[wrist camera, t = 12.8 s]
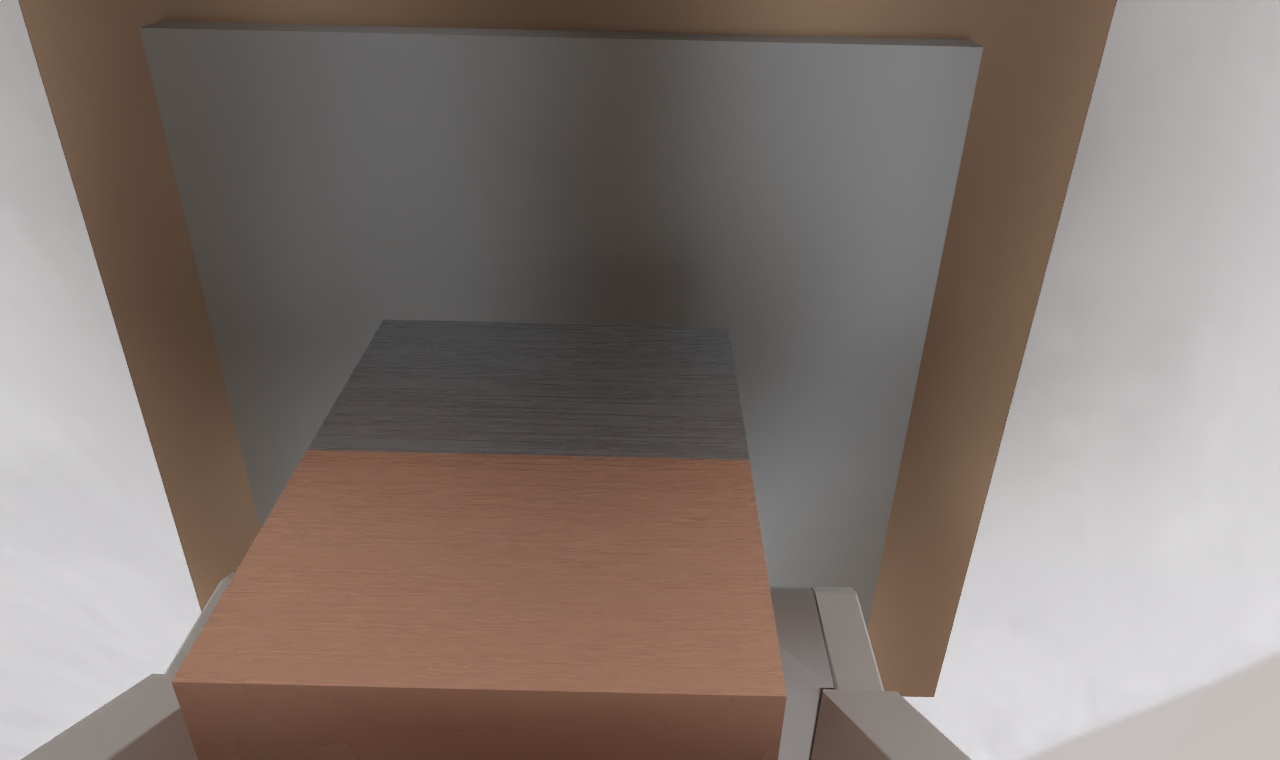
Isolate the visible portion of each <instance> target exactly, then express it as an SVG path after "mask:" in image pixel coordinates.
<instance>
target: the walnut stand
mask: <svg viewBox="0 0 1280 760" xmlns="http://www.w3.org/2000/svg"><path fill="white" fill-rule="evenodd" d="M18 1H19V5H20V8H21V11H22V15H23V18H24V21H25V25H26V28H27V31H28V35H29V38H30V41H31V45H32V48H33V51H34V55H35V58H36V61H37V65H38V68H39V71H40V75H41V78H42V81H43V85H44V88H45V91H46V95H47V98H48V101H49V105H50V108H51V111H52V115H53V118H54V121H55V125H56V128H57V131H58V135H59V138H60V141H61V145H62V148H63V151H64V155H65V158H66V161H67V165H68V168H69V171H70V175H71V178H72V181H73V185H74V188H75V191H76V195H77V198H78V201H79V205H80V208H81V211H82V215H83V218H84V221H85V225H86V228H87V231H88V235H89V238H90V241H91V245H92V248H93V251H94V255H95V258H96V261H97V265H98V268H99V271H100V275H101V278H102V281H103V285H104V288H105V291H106V295H107V298H108V301H109V305H110V308H111V311H112V315H113V318H114V321H115V325H116V328H117V331H118V335H119V338H120V341H121V345H122V348H123V351H124V355H125V358H126V361H127V365H128V368H129V371H130V375H131V378H132V381H133V385H134V388H135V391H136V395H137V398H138V402H139V405H140V408H141V412H142V415H143V418H144V422H145V425H146V428H147V432H148V435H149V438H150V442H151V445H152V448H153V452H154V455H155V458H156V462H157V465H158V468H159V472H160V475H161V478H162V482H163V485H164V488H165V492H166V495H167V498H168V502H169V505H170V508H171V512H172V515H173V518H174V522H175V525H176V528H177V532H178V535H179V538H180V542H181V545H182V548H183V552H184V555H185V558H186V562H187V565H188V568H189V572H190V575H191V578H192V582H193V585H194V588H195V592H196V595H197V598H198V602H199V605H200V608H201V612H202V611H203V609H204V608H205V606H206V604H207V603H208V601H209V600H210V598H211V596H212V595H213V593H214V591H215V590H216V588H217V586H218V585H219V583H220V581H221V580H222V579H224V578H225V577H226V576H228V575H229V574H231V573H235V572H236V571H237V569H238V567H239V566H240V564H241V562H242V560H243V559H244V557H245V555H246V554H247V552H248V550H249V548H250V547H251V545H252V543H253V542H254V540H255V538H256V536H257V535H258V533H259V531H260V530H261V528H262V526H263V524H264V523H265V521H266V519H267V518H268V516H269V514H270V513H271V511H272V509H273V507H274V506H275V504H276V502H277V501H278V499H279V497H280V495H281V494H282V492H283V490H284V489H285V487H286V485H287V483H288V482H289V480H290V478H291V477H292V475H293V473H294V471H295V470H296V468H297V466H298V465H299V463H300V461H301V459H302V458H303V456H304V454H305V453H306V451H307V449H308V447H309V446H310V444H311V442H312V441H313V439H314V437H315V436H316V434H317V432H318V430H319V429H320V427H321V425H322V424H323V422H324V420H325V418H326V417H327V415H328V413H329V412H330V410H331V408H332V406H333V405H334V403H335V401H336V400H337V398H338V396H339V394H340V393H341V391H342V389H343V388H344V386H345V384H346V382H347V381H348V379H349V377H350V376H351V374H352V372H353V370H354V369H355V367H356V365H357V364H358V362H359V360H360V359H361V357H362V355H363V353H364V352H365V350H366V348H367V347H368V345H369V343H370V341H371V340H372V338H373V336H374V335H375V333H376V331H377V329H378V328H379V326H380V324H381V323H382V321H383V320H423V321H467V322H512V323H557V324H602V325H647V326H691V327H729V332H730V338H731V345H732V351H733V358H734V364H735V370H736V377H737V383H738V389H739V396H740V402H741V408H742V415H743V421H744V427H745V434H746V440H747V447H748V453H749V459H750V466H751V472H752V478H753V485H754V491H755V497H756V504H757V510H758V517H759V523H760V529H761V536H762V542H763V548H764V555H765V561H766V567H767V574H768V580H769V586H770V587H809V588H811V587H852V588H853V589H854V591H855V592H856V593H857V596H858V600H859V603H860V607H861V610H862V614H863V618H864V621H865V625H866V628H867V632H868V635H869V639H870V642H871V646H872V650H873V653H874V657H875V660H876V664H877V667H878V671H879V674H880V678H881V681H882V685H883V689H884V691H896V692H898V693H899V694H900V695H901V696H910V697H934V694H935V691H936V687H937V683H938V679H939V675H940V672H941V668H942V664H943V660H944V656H945V653H946V649H947V645H948V641H949V637H950V634H951V630H952V626H953V622H954V618H955V614H956V611H957V607H958V603H959V599H960V595H961V592H962V588H963V584H964V580H965V576H966V573H967V569H968V565H969V561H970V557H971V554H972V550H973V546H974V542H975V538H976V535H977V531H978V527H979V523H980V519H981V516H982V512H983V508H984V504H985V500H986V497H987V493H988V489H989V485H990V481H991V477H992V474H993V470H994V466H995V462H996V458H997V455H998V451H999V447H1000V443H1001V439H1002V436H1003V432H1004V428H1005V424H1006V420H1007V417H1008V413H1009V409H1010V405H1011V401H1012V398H1013V394H1014V390H1015V386H1016V382H1017V379H1018V375H1019V371H1020V367H1021V363H1022V359H1023V356H1024V352H1025V348H1026V344H1027V340H1028V337H1029V333H1030V329H1031V325H1032V321H1033V318H1034V314H1035V310H1036V306H1037V302H1038V299H1039V295H1040V291H1041V287H1042V283H1043V280H1044V276H1045V272H1046V268H1047V264H1048V261H1049V257H1050V253H1051V249H1052V245H1053V242H1054V238H1055V234H1056V230H1057V226H1058V222H1059V219H1060V215H1061V211H1062V207H1063V203H1064V200H1065V196H1066V192H1067V188H1068V184H1069V181H1070V177H1071V173H1072V169H1073V165H1074V162H1075V158H1076V154H1077V150H1078V146H1079V143H1080V139H1081V135H1082V131H1083V127H1084V124H1085V120H1086V116H1087V112H1088V108H1089V104H1090V101H1091V97H1092V93H1093V89H1094V85H1095V82H1096V78H1097V74H1098V70H1099V66H1100V63H1101V59H1102V55H1103V51H1104V47H1105V44H1106V40H1107V36H1108V32H1109V28H1110V25H1111V21H1112V17H1113V13H1114V9H1115V6H1116V2H1117V0H18Z"/></svg>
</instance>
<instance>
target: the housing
mask: <svg viewBox="0 0 1280 760" xmlns="http://www.w3.org/2000/svg"><path fill="white" fill-rule="evenodd" d="M172 685H173V688H174V691H175V694H176V697H177V700H178V703H179V706H180V709H181V712H182V715H183V718H184V721H185V723H186V726H187V729H188V732H189V735H190V738H191V741H192V744H193V747H194V750H195V753H196V756H197V759H198V760H778V755H779V748H780V741H781V734H782V727H783V720H784V713H785V706H786V699H787V695H786V688H785V682H784V675H783V669H782V663H781V656H780V650H779V644H778V637H777V631H776V625H775V618H774V612H773V606H772V599H771V593H770V586H769V580H768V574H767V567H766V561H765V555H764V548H763V542H762V536H761V529H760V523H759V517H758V510H757V504H756V497H755V491H754V485H753V478H752V472H751V466H750V459H749V453H748V447H747V440H746V434H745V427H744V421H743V415H742V408H741V402H740V396H739V389H738V383H737V377H736V370H735V364H734V358H733V351H732V345H731V338H730V332H729V327H691V326H647V325H602V324H557V323H512V322H467V321H423V320H383V321H382V323H381V324H380V326H379V328H378V329H377V331H376V333H375V335H374V336H373V338H372V340H371V341H370V343H369V345H368V347H367V348H366V350H365V352H364V353H363V355H362V357H361V359H360V360H359V362H358V364H357V365H356V367H355V369H354V370H353V372H352V374H351V376H350V377H349V379H348V381H347V382H346V384H345V386H344V388H343V389H342V391H341V393H340V394H339V396H338V398H337V400H336V401H335V403H334V405H333V406H332V408H331V410H330V412H329V413H328V415H327V417H326V418H325V420H324V422H323V424H322V425H321V427H320V429H319V430H318V432H317V434H316V436H315V437H314V439H313V441H312V442H311V444H310V446H309V447H308V449H307V451H306V453H305V454H304V456H303V458H302V459H301V461H300V463H299V465H298V466H297V468H296V470H295V471H294V473H293V475H292V477H291V478H290V480H289V482H288V483H287V485H286V487H285V489H284V490H283V492H282V494H281V495H280V497H279V499H278V501H277V502H276V504H275V506H274V507H273V509H272V511H271V513H270V514H269V516H268V518H267V519H266V521H265V523H264V524H263V526H262V528H261V530H260V531H259V533H258V535H257V536H256V538H255V540H254V542H253V543H252V545H251V547H250V548H249V550H248V552H247V554H246V555H245V557H244V559H243V560H242V562H241V564H240V566H239V567H238V569H237V571H236V572H235V574H234V576H233V578H232V579H231V581H230V583H229V584H228V586H227V588H226V589H225V591H224V593H223V595H222V596H221V598H220V600H219V601H218V603H217V605H216V607H215V608H214V610H213V612H212V613H211V615H210V617H209V619H208V620H207V622H206V624H205V625H204V627H203V629H202V631H201V632H200V634H199V636H198V637H197V639H196V641H195V643H194V644H193V646H192V648H191V649H190V651H189V653H188V655H187V656H186V658H185V660H184V661H183V663H182V665H181V666H180V668H179V670H178V672H177V673H176V675H175V677H174V678H173V680H172Z"/></svg>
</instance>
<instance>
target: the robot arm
mask: <svg viewBox="0 0 1280 760" xmlns="http://www.w3.org/2000/svg"><path fill="white" fill-rule="evenodd" d="M234 574H235V573H231V574H229V575H228V576H226V577H225V578H224V579H222V580H221V581H220V583H219V585H218V586H217V588H216V590H215V591H214V593H213V595H212V596H211V598H210V600H209V601H208V603H207V604H206V606H205V608H204V609H203V611H202V613H201V614H200V616H199V618H198V619H197V621H196V623H195V624H194V626H193V628H192V629H191V631H190V633H189V634H188V636H187V638H186V639H185V641H184V643H183V644H182V646H181V648H180V649H179V651H178V653H177V654H176V656H175V658H174V659H173V661H172V663H171V664H170V666H169V667H168V669H167V671H166V672H165V674H151V675H150V676H148V677H147V678H145V679H144V680H142V681H141V682H139V683H138V684H136V685H134V686H133V687H131V688H130V689H128V690H127V691H125V692H124V693H122V694H121V695H119V696H118V697H116V698H115V699H113V700H111V701H110V702H108V703H107V704H105V705H104V706H102V707H101V708H99V709H98V710H96V711H95V712H93V713H92V714H90V715H88V716H87V717H85V718H84V719H82V720H81V721H79V722H78V723H76V724H75V725H73V726H72V727H70V728H69V729H67V730H65V731H64V732H62V733H61V734H59V735H58V736H56V737H55V738H53V739H52V740H50V741H49V742H47V743H46V744H44V745H42V746H41V747H39V748H38V749H36V750H35V751H33V752H32V753H30V754H29V755H27V756H26V757H24V758H23V759H21V760H198V759H197V756H196V753H195V750H194V747H193V744H192V741H191V738H190V735H189V732H188V729H187V726H186V723H185V721H184V718H183V715H182V712H181V709H180V706H179V703H178V700H177V697H176V694H175V691H174V688H173V685H172V680H173V678H174V677H175V675H176V673H177V672H178V670H179V668H180V666H181V665H182V663H183V661H184V660H185V658H186V656H187V655H188V653H189V651H190V649H191V648H192V646H193V644H194V643H195V641H196V639H197V637H198V636H199V634H200V632H201V631H202V629H203V627H204V625H205V624H206V622H207V620H208V619H209V617H210V615H211V613H212V612H213V610H214V608H215V607H216V605H217V603H218V601H219V600H220V598H221V596H222V595H223V593H224V591H225V589H226V588H227V586H228V584H229V583H230V581H231V579H232V578H233V576H234ZM770 593H771V599H772V606H773V612H774V618H775V625H776V631H777V637H778V644H779V650H780V656H781V663H782V669H783V675H784V682H785V688H786V695H787V699H786V706H785V713H784V720H783V727H782V734H781V741H780V748H779V755H778V760H971V759H970V758H969V757H968V756H967V755H966V754H965V753H963V752H962V751H961V750H960V749H959V748H958V747H957V746H956V745H955V744H954V743H952V742H951V741H950V740H949V739H948V738H947V737H946V736H945V735H944V734H943V733H942V732H940V731H939V730H938V729H937V728H936V727H935V726H934V725H933V724H932V723H931V722H929V721H928V720H927V719H926V718H925V717H924V716H923V715H922V714H921V713H920V712H919V711H917V710H916V709H915V708H914V707H913V706H912V705H911V704H910V703H909V702H908V701H906V700H905V699H904V698H903V697H902V696H901V695H900V694H899V693H898V692H896V691H884V689H883V685H882V681H881V678H880V674H879V671H878V667H877V664H876V660H875V657H874V653H873V650H872V646H871V642H870V639H869V635H868V632H867V628H866V625H865V621H864V618H863V614H862V610H861V607H860V603H859V600H858V596H857V593H856V592H855V591H854V589H853V588H852V587H811V588H809V587H770Z"/></svg>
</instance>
